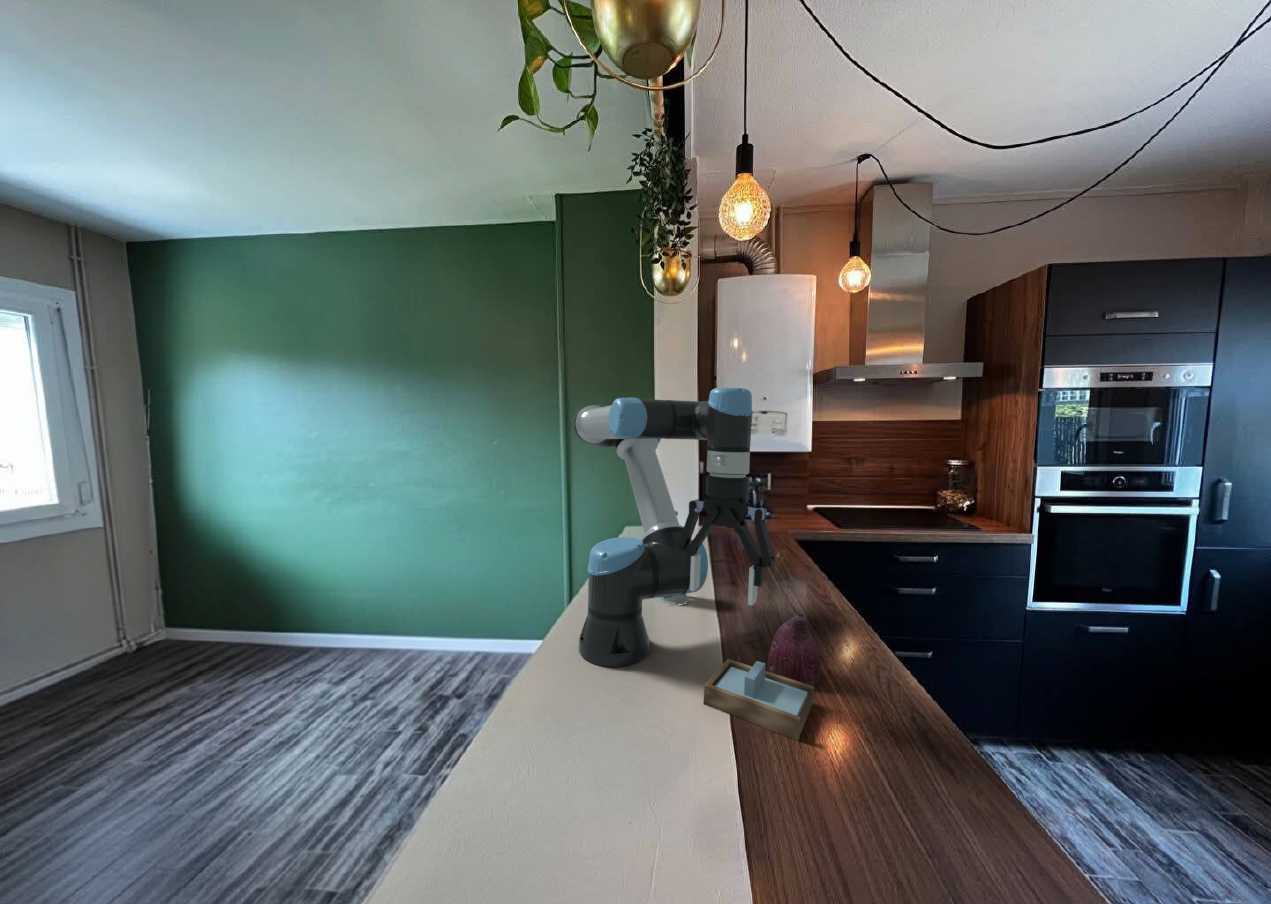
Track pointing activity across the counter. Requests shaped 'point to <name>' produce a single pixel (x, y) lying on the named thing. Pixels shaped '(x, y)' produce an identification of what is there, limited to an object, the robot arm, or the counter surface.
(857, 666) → the counter surface
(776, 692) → the lid
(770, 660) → the vegetable
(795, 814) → the counter surface
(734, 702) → the pencil box
